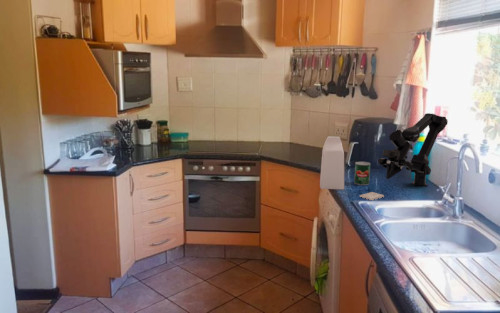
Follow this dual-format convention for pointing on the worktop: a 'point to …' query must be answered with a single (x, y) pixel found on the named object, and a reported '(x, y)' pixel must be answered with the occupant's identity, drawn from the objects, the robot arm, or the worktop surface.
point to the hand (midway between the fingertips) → (387, 178)
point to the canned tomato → (362, 173)
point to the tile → (371, 196)
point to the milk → (332, 164)
